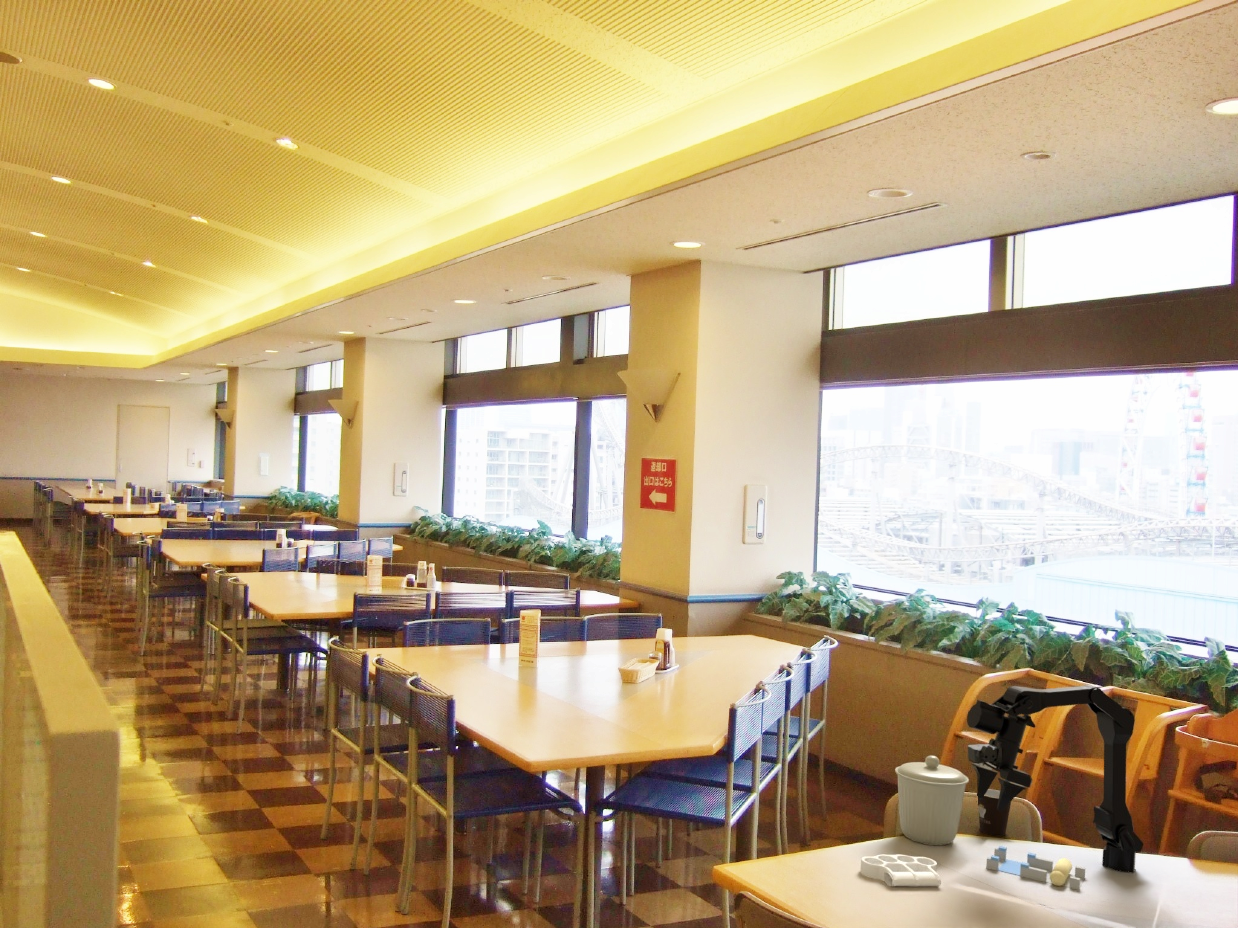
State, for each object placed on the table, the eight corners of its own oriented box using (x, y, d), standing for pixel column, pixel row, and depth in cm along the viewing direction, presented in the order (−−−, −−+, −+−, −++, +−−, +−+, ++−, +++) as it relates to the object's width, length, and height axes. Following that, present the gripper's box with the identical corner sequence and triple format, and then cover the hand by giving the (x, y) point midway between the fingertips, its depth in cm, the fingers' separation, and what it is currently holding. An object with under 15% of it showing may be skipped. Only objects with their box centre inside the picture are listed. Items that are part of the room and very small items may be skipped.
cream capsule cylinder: (1057, 870, 244) (1057, 856, 244) (1071, 873, 242) (1072, 859, 242) (1048, 885, 233) (1049, 870, 233) (1063, 888, 232) (1064, 874, 232)
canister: (980, 846, 262) (985, 762, 262) (931, 854, 252) (936, 767, 253) (924, 824, 277) (929, 744, 278) (876, 831, 267) (881, 749, 268)
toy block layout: (1084, 881, 240) (1085, 864, 241) (1078, 894, 232) (1079, 877, 232) (995, 860, 251) (996, 844, 251) (985, 872, 242) (986, 855, 242)
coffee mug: (1012, 838, 269) (1014, 800, 270) (977, 834, 271) (980, 795, 272) (1005, 825, 281) (1007, 788, 281) (971, 821, 283) (973, 784, 283)
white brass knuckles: (878, 890, 227) (851, 866, 241) (954, 890, 230) (922, 866, 244) (879, 874, 227) (852, 851, 241) (955, 874, 230) (923, 852, 245)
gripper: (959, 721, 254) (940, 782, 252) (998, 739, 235) (978, 806, 234) (999, 733, 255) (981, 795, 254) (1041, 753, 237) (1022, 819, 236)
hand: (989, 803), depth 244 cm, fingers open, 9 cm apart
